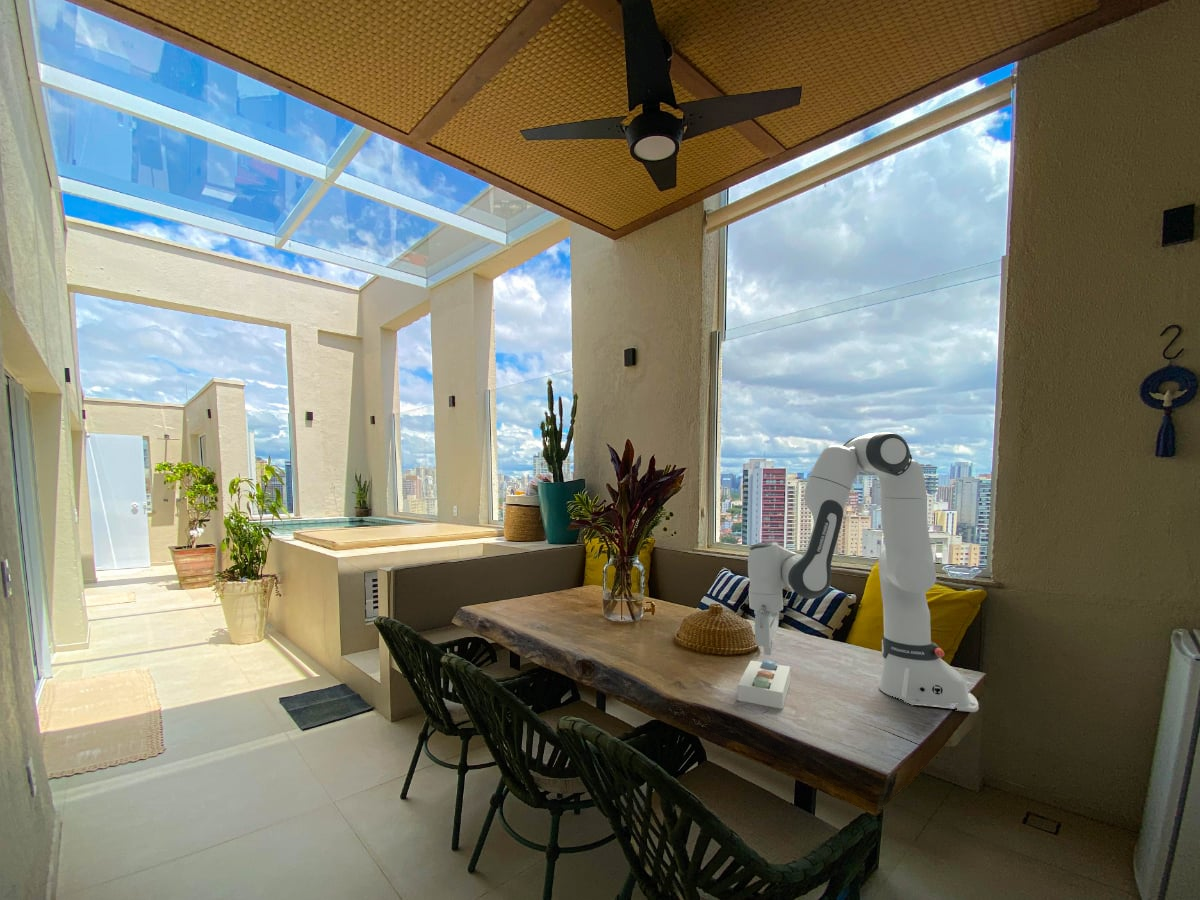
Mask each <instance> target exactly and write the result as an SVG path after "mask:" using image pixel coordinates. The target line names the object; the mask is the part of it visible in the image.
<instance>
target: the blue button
mask: <svg viewBox="0 0 1200 900" xmlns="http://www.w3.org/2000/svg"><path fill="white" fill-rule="evenodd" d="M761 662H762V669H768V670H775V671H776V663H777V662H775V661H773V660H770V659H764V660H762V661H761Z"/></svg>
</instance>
